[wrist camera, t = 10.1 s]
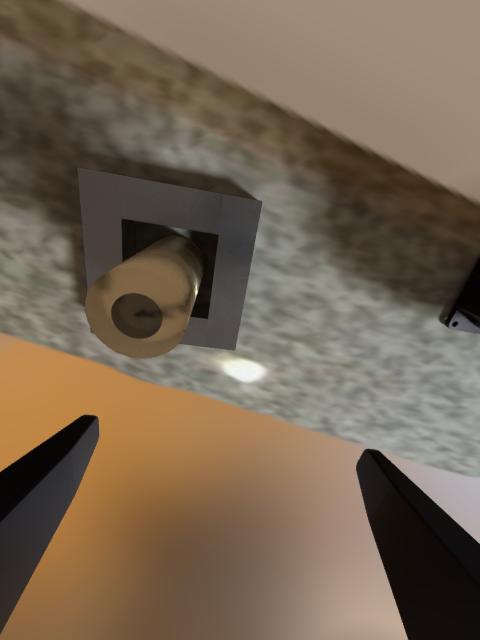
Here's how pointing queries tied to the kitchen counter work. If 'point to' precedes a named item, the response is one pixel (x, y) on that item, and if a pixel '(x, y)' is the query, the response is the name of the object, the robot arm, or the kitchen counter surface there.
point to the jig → (181, 212)
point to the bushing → (147, 298)
